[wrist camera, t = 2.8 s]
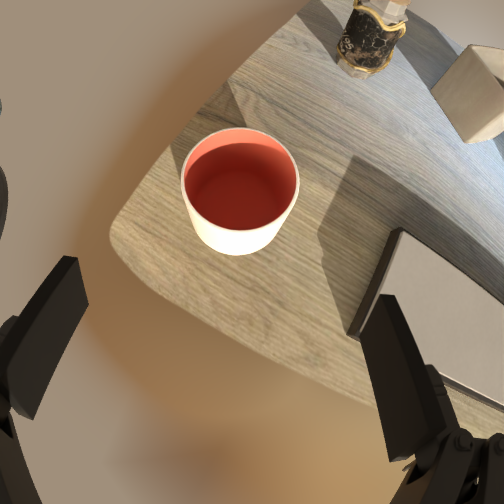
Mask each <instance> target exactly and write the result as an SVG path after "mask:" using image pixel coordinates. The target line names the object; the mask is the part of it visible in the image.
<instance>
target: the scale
mask: <svg viewBox="0 0 504 504" xmlns="http://www.w3.org/2000/svg"><path fill="white" fill-rule="evenodd" d="M380 294H391V295H395V297H396V299H397V301H398V303H399V305H400V307H401V310H402V312H403V314H404V316H405V318H406V321H407V323H408V325H409V327H410V330H411V332H412V334H413V337H414V339H415V341H416V344H417V346H418V349H419V351H420V354H421V356H422V358H423V361H424V363H425V364H432V365H433V366H434V367H435V368H436V369H437V371H438V372H439V373H440V375H441V378H442V380H443V383H444V385H446V386H448V387H450V388H452V389H454V390H456V391H458V392H460V393H462V394H465V395H467V396H469V397H471V398H473V399H475V400H477V401H479V402H481V403H483V404H486V405H488V406H490V407H492V408H494V409H496V410H498V411H501V412H503V413H504V304H503V303H502V302H501V301H500V300H499V299H497V298H496V297H495V296H494V295H493V294H491V293H490V292H489V291H488V290H486V289H485V288H484V287H483V286H481V285H480V284H479V283H478V282H476V281H475V280H474V279H473V278H471V277H470V276H469V275H467V274H466V273H465V272H464V271H462V270H461V269H460V268H458V267H457V266H456V265H454V264H453V263H452V262H450V261H449V260H447V259H446V258H445V257H443V256H442V255H441V254H439V253H438V252H436V251H435V250H434V249H432V248H431V247H429V246H428V245H427V244H425V243H424V242H422V241H421V240H419V239H418V238H417V237H415V236H414V235H412V234H411V233H409V232H408V231H406V230H405V229H403V228H402V227H398V228H397V229H395V230H393V231H391V233H390V236H389V238H388V241H387V243H386V246H385V248H384V251H383V254H382V256H381V259H380V261H379V263H378V266H377V268H376V271H375V273H374V275H373V278H372V280H371V282H370V285H369V287H368V289H367V292H366V294H365V296H364V298H363V301H362V303H361V305H360V307H359V309H358V311H357V314H356V316H355V318H354V320H353V322H352V324H351V326H350V328H349V330H348V332H347V334H346V335H347V336H349V337H351V338H353V339H355V340H357V341H359V342H360V339H359V335H360V333H361V331H362V330H363V328H364V326H365V324H366V322H367V320H368V318H369V316H370V313H371V311H372V309H373V307H374V305H375V303H376V301H377V299H378V297H379V295H380Z"/></svg>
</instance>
